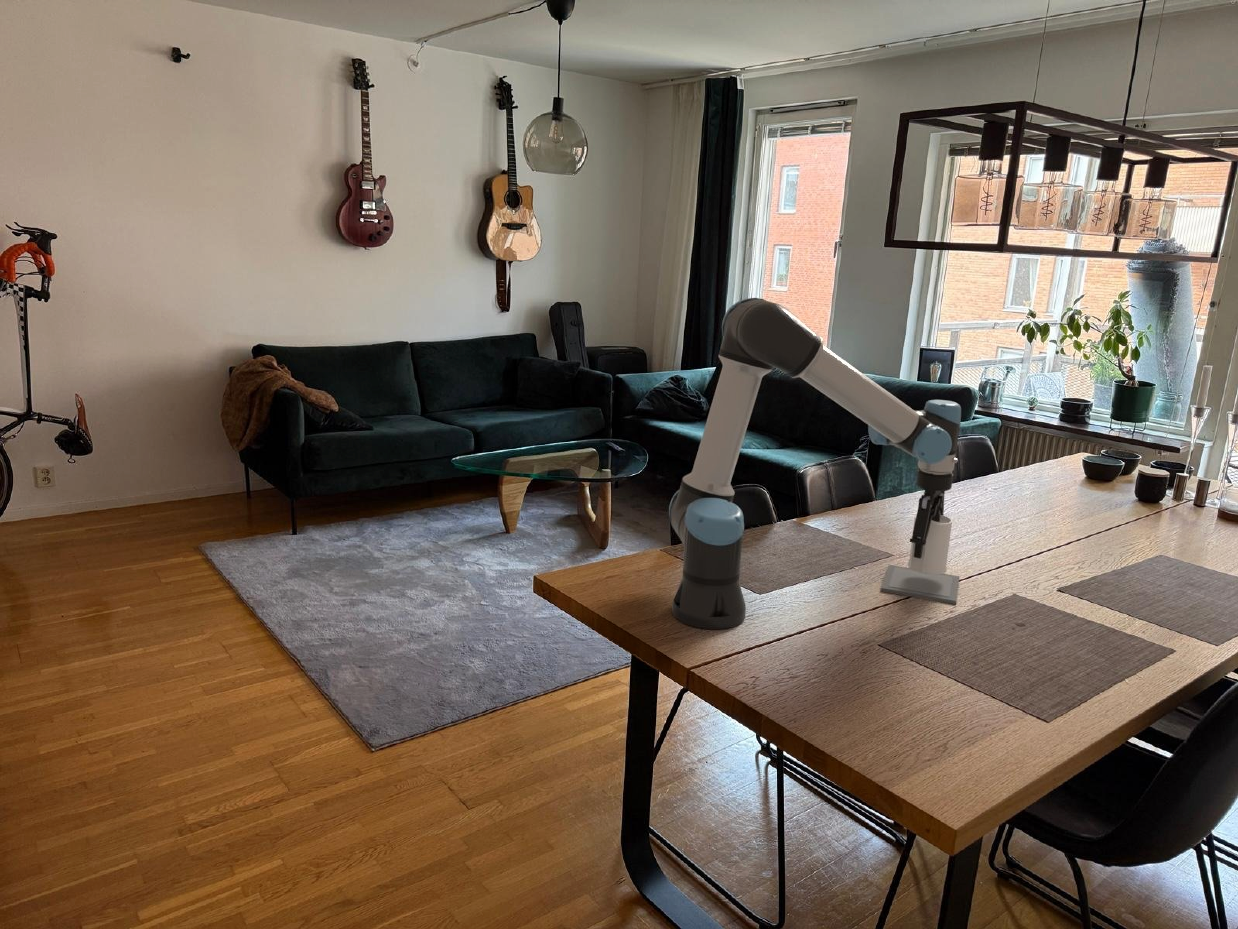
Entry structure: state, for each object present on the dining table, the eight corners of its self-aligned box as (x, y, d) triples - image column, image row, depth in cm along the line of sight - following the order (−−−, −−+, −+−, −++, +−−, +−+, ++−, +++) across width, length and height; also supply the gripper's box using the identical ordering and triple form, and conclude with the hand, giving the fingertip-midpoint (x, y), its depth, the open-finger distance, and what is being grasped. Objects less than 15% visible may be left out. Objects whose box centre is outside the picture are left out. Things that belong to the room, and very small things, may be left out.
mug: (924, 581, 195) (931, 529, 192) (891, 569, 202) (897, 519, 199) (954, 569, 203) (960, 520, 199) (921, 558, 209) (927, 510, 206)
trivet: (956, 604, 193) (956, 600, 193) (880, 591, 199) (880, 587, 199) (959, 579, 207) (959, 576, 207) (888, 567, 213) (888, 564, 213)
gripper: (939, 484, 184) (927, 582, 190) (964, 462, 204) (952, 551, 209) (903, 478, 188) (892, 574, 194) (931, 457, 208) (920, 544, 213)
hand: (923, 562), depth 202 cm, fingers closed on mug, 11 cm apart
